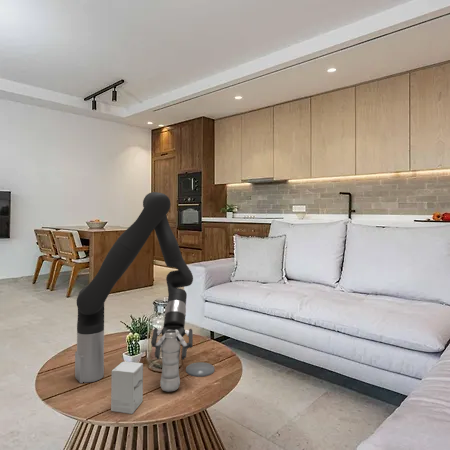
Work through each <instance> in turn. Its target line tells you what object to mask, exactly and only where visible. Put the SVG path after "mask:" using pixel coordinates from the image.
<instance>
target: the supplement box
mask: <svg viewBox="0 0 450 450" xmlns="http://www.w3.org/2000/svg"><path fill="white" fill-rule="evenodd" d="M110 381H111V388H110V390H111V395H110V397H111V398H110V401H111V402H110V404H111V405H110V411H111V412H116V413H122V414H123V413H124V414H130V415H133V414H134V412H135V411H136V410H137V408H138V407H139V406H141V404H142V403H143V399H144V397H143V395H144V394H143V393H144V392H143V390H144V363H142V362H133V361H132V362H131V361H122V362H120V363H119V364H118V365H117V366H115V367H114V368H113V369H112V370H111V380H110Z"/></svg>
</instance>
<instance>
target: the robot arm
mask: <svg viewBox="0 0 450 450" xmlns="http://www.w3.org/2000/svg"><path fill="white" fill-rule="evenodd" d="M171 205H172V204H171V200H170V198H169V196H168V195H167V194H166V193H163V192H157V191H152V192H149V193H147V194H146V195H145V197H143V200H142V207H143V208H142V211H141V212H140V213H139V216H137V218H136V219H135V221H134V222H133V223H132V224H131V225H130V226H129V227H128V228H127V229H125V230H124V231H123V232H122V234H120V235H119V236H118V238H116V241H115V242H114V243H113V245H112V246H111V248H110V249H109V251H108V252H107V254H106V256H105V258H104V260H103V262H102V263H101V265H100V268H99V270H98V272H97V273H96V275H94V278H93V279H92V280H91V281H90V282H89V284H88V285H86V286H84V287H82V289H80V291H79V293H78V295H77V297H76V306H77V321H76V322H77V323H76V351H74V378H75V379H76V380H77V381H78V382H79V384H83V382H84V383H94V382H97V381H99V380H101V379H102V378H104V375H105V373H104V372H105V365H104V364H105V356H104V355H105V302H106V301H107V298H108V297H109V295H110V293H111V292H112V291H113V290H112V289H113V288H114V286H115V285H116V283H117V282H118V281H119V280H120V279H121V277H122V276H123V275H124V274H125V272H126V271H127V270H128V268H130V266H131V265H132V263H133V262H134V261H135V259H136V257H137V256H138V255H139V253H140V251H141V250H142V248H143V247H144V245H145V243H146V242H147V240H148V239H149V238H150V236H151V234H152V232H153V231H154V232H155V235H156V238H157V241H158V244H159V248H160V250H161V251H160V252H161V254H162V258H163V260H164V264H165V265H166V267H168V268H175V269H177V270H171V271H170V272H168V273H167V275H166V277H165V278H166V279H165V280H166V285H167V293H168V297H167V304H166V308H165V312H164V320H163V321H164V322H163V327H162V328H161V329H158V328H157V327H155V328H153V333H152V337H151V341H150V344H151V347H152V348H155V351H154V356H155V358H156V360H160V356H161V346H162V344H163V342H164V341H165V339H166V338H165V332H166V331H168V330H175V331H176V335H177V337H176V339H177V340H178V342H179V343H180V346H181V348H182V349H181V360H183V361H184V360H185V358H187V350H188V349H189V348H193V345H194V344H193V343H194V342H193V336H194V334H193V333H194V332H193V329H192V328H189V329H188V330H187V329H185V324H186V316H187V297H188V295H187V294H188V293H187V291H186V290H185V289H183V288H184V287H185V288H187V287H189V286H191V285H192V284H193V281H194V276H193V273H192V271H191V269H190V268H189V266H188V265H187V262H186V261H185V260H184V258H183V256H182V252H181V249H180V246H179V243H178V241H177V239H176V236H175V234H174V232H173V230H172V228H171V226H170V223H169V220H168V217H167V214H168V213H169V211H170V209H171ZM160 334H161V335H162V336H161V337H160V338H159V339H158V337H159V336H160ZM185 335H186V337H188V342H186V341H185V339H184V336H185ZM157 340H158V341H157Z"/></svg>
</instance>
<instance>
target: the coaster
mask: <svg viewBox="0 0 450 450" xmlns="http://www.w3.org/2000/svg"><path fill="white" fill-rule="evenodd" d="M185 367H186V368H185V372H186V374H187V375H188V376H192V377H197V378H199V377H202V378H203V377H207V376H210V375H212V374H214V372H215V366H214V365H213V364H211V363H210V362H209V363H208V362H203V361H202V362H200V361H199V362H193V363H190V364H188V365H187V366H185Z"/></svg>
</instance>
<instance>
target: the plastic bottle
mask: <svg viewBox="0 0 450 450" xmlns="http://www.w3.org/2000/svg"><path fill="white" fill-rule="evenodd" d="M176 337H177V335H176V331H175V330H168V331H166V332H165V338H166V339H165V341H164V342H163V344H162V346H161V348H160V353H161V359H162V367H161V368H162V369H161V376H160V382H159V385H160V388H161V389H162V391H164V392H167V393H170V392H175V391H177V390H178V389H179V388H180V383H181V379H180V371H179V369H180V368H179V362H180V353H181V348H182V345H181V344H180V342H179V341H178V340H177V339H176Z"/></svg>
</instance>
